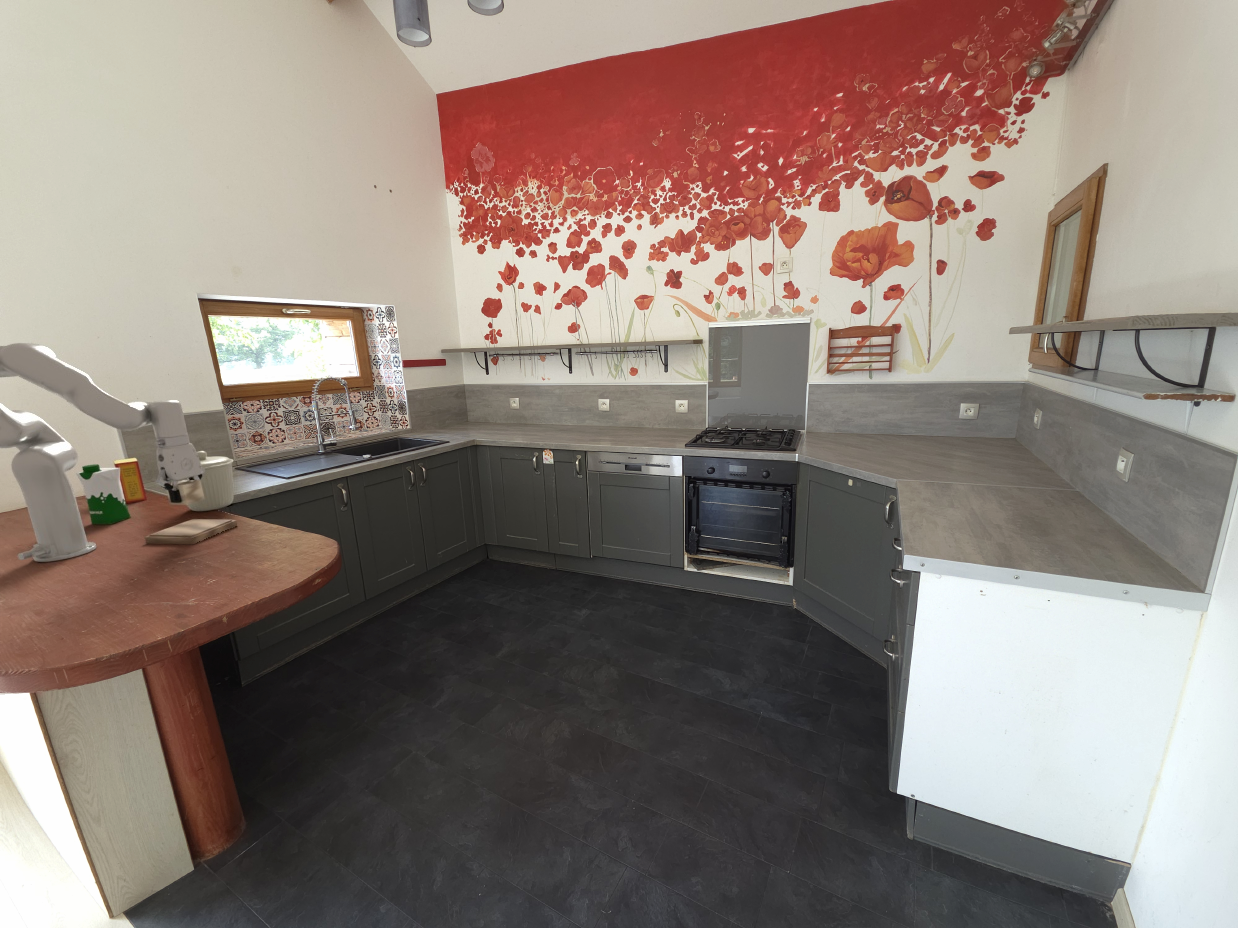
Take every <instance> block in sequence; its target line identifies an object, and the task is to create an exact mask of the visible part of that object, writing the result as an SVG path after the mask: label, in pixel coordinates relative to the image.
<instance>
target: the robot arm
mask: <svg viewBox="0 0 1238 928" xmlns="http://www.w3.org/2000/svg"><path fill="white" fill-rule="evenodd" d="M13 377H14V378H15V377H18V378H21V379H23V380H25V381H27V382H29V383H31V384H34V385H36V386H37V387H40V388H41V389H44V390H45V391H48V392H49V393H52V394H54V395H56V396H58V397H60V398H61V399H63V400H64V401H66V402H67V403H69V404H70V405H72V406H73V407H75V408H76V409H77V410H79V411H81V412H82V413H83V414H85V415H87V416H89V417H91V418H93V419H95V420H97V421H99V422H101V423H102V424H105V425H107V426H110V427H112V428H114V429H117V430H121V431H134V430H137V429H139V428H144V427H146V426H150V425H152V429H153V433H154V436H155V441H154V442H153V443H154V446H156V447H157V448H156V463H157V469H158V475H157V477H156V479H155V480H154V483H155V484H156V485H158V486H160V487H161V488H163V489H164V490H165V491H166V490H167V491H168V492H169V496H170V500H171V503H181V502H182V500H181V495H180V491H179V490H177V485H178V481H179V480H183V479H188V480H200V481H201V478H202V476H203V473H204V472H205V468H203V467H202V466H201V463H200V460H199V457H198V454H197V452H198V451H197V450H196V447H195V446H194V444H193V443H191V442H190V437H189V434H188V430H187V425H186V420H185V415H184V412H183V408H182V404H181V403H180V401H178V400H175V399H169V400H168V399H167V400H159V401H158V400H156V401H129V402H125V401H123V400H121V399H119V398H117V397H115V396H114V395H113V396H112V395H111V394H108V393H107V392H105V391H104V390H102V389H101V388H99V387H98V386H97V385H96V384H95V383H94V382H93V380H92V378H91V377H90V376H89V374H87V373H85V372H84V371H81V370H80V369H78V368H76V367H74V366H72V365H70V364H68V363H66V362H64V361H62V360H60V359H58V357H57V355H56V354H55V353H54V351H53V350H51V349H50V348H48V347H46V346H44V345H42V344H38V343H32V342H31V343H29V342H27V343H25V342H24V343H23V342H18V343H17V342H15V343H9V344H7V345H0V378H13ZM11 448H17V449H18V452H17V453H16V454H15V455H14V457H13V458H12V460H11V464H10V465H11V471H12V474H13V476H14V478H15V479H16V482H17V483H18V485H19V488H20V491H21V492H22V495H23V498H24V501H25V502H24V503H25V505H26V507H27V511H28V515H29V518H30V520H31V521H30V522H31V525H32V528H33V531H34V535H35V538H36V539H35V540H36V542H37V543H35V544H33V547H32V548H31V549H30V550H26V551H24V552H21V553H20V552H19V553H18V554H17V558H18V560H20V561H24V560H27V559H30V558H33V561H35V562H40V563H47V562H56V561H61V560H66V559H70V558H75V557H79V556H81V555H85V554H87V553H90V552H92V551H94V550H95V549H96V548H97V544H96V542H93V541H92V542H91V541H88V539H87V536H86V535H87V534H86V532H85V528H84V524H83V520H82V517H81V513H80V509H79V506H78V501H77V498H76V496H75V492H74V489H73V486H72V483H71V481H70V480H69V478H68V475H67V474H66V472H69V471H70V470H72V469H73V468H75V466H76V464H77V463H78V459H79V456H78V453H77V451H76V450H77V449H75V448H74V446H72V445H71V444H70V443H69V441H67V440H66V439H65V438H64V437H63V436H62V435H61V434H60V433H58V432H57V431H56V430H55V429H54V428H52V426H51V425H49V424H48V423H47V422H46V421H44V419H42V418H41V417H39V416H37V415H36V414H34V413H32V412H29V411H25V410H16V409H15V410H10V409H9V408H8V407H6V406H5V405H4V404H3V403H1V402H0V449H11ZM171 484H172V485H171Z"/></svg>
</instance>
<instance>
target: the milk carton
mask: <svg viewBox="0 0 1238 928" xmlns="http://www.w3.org/2000/svg"><path fill="white" fill-rule="evenodd" d="M81 468H82V471H80V472H76V476H77V478H78V479H79V482H80V483H81V485H82V487H83V491H84V495H85V500H86V503H87V506H88V511H89V516H90V522H91V525H113V524H115V523H118V522H122V521H124V520H128V519H131V518H132V516H131V514H130V512H129V509H128V505H127V503H126V502H125V498H124V494H123V490H122V486H121V482H120V468H115V467H100V465H99V464H96V463H95V464H88V465H83V466H82V467H81Z"/></svg>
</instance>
